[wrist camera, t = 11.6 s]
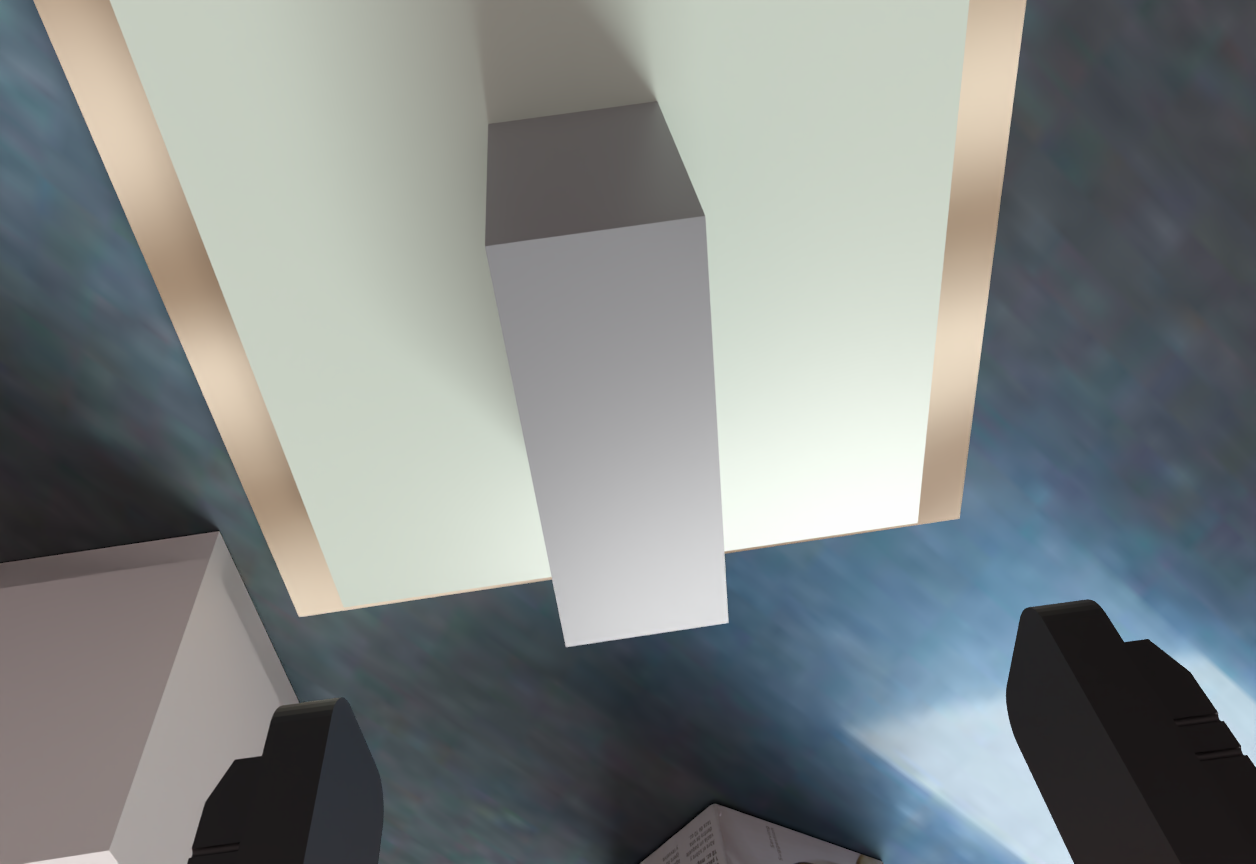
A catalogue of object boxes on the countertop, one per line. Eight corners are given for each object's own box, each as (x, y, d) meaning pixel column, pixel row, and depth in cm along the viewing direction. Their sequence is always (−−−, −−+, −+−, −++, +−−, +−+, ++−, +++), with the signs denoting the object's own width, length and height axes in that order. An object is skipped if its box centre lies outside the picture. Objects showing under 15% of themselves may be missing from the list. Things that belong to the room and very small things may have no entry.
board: (-11, -168, 17) (-36, -161, 16) (1038, -301, 17) (1065, -302, 16) (305, 590, 27) (299, 616, 26) (946, 495, 28) (959, 518, 27)
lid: (140, -44, 17) (-39, 73, 11) (937, -146, 17) (1149, -83, 12) (353, 550, 25) (311, 790, 20) (891, 472, 26) (1002, 684, 20)
